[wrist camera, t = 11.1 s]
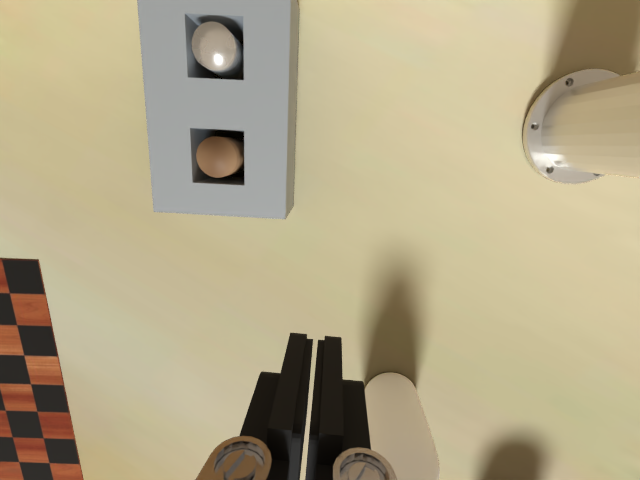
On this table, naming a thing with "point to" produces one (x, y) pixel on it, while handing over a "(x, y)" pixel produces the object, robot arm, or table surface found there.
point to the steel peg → (218, 50)
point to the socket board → (221, 106)
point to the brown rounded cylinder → (221, 156)
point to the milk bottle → (400, 427)
